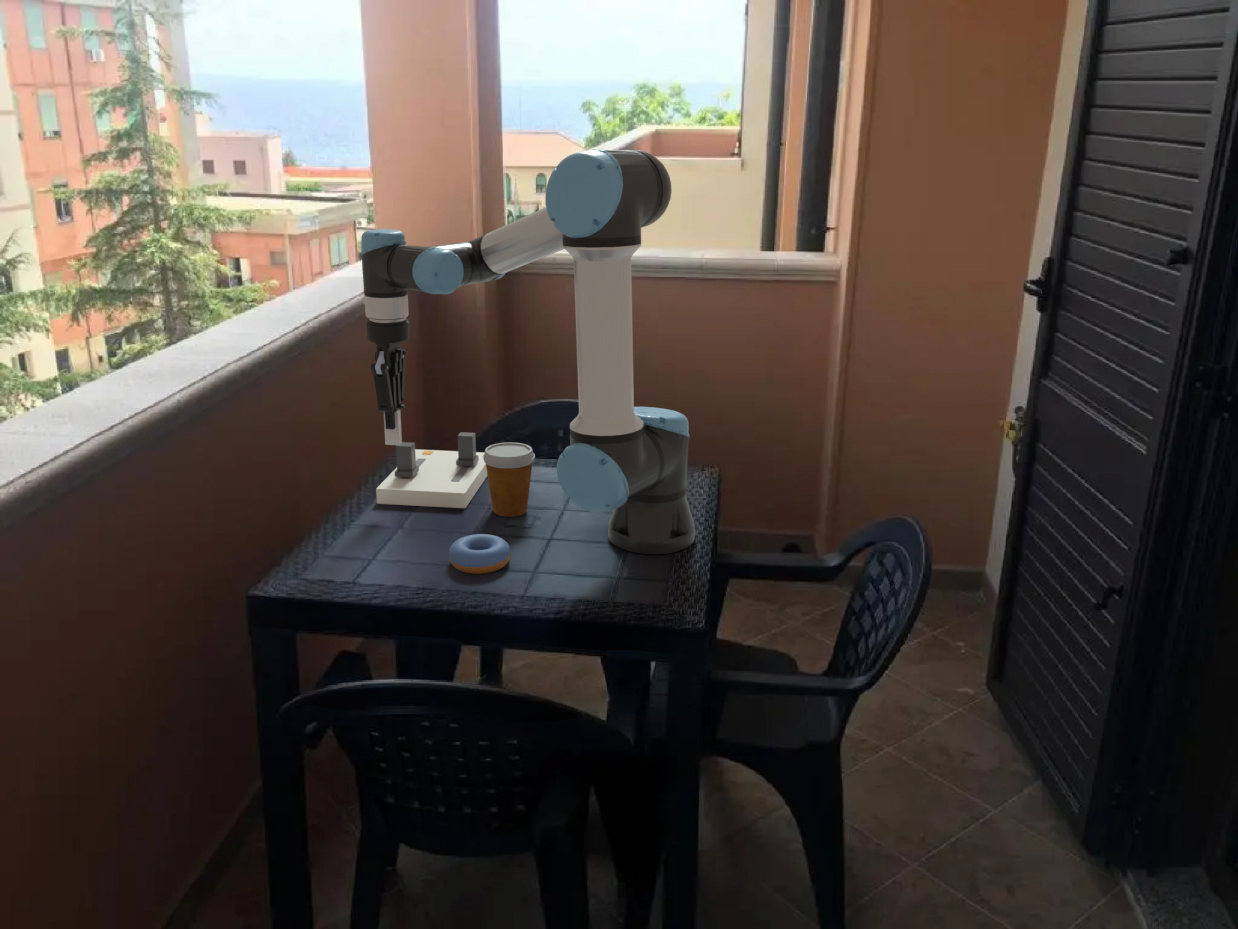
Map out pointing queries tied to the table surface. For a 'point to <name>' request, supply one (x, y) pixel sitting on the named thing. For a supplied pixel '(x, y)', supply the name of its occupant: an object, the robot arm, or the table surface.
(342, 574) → the table surface
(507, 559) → the doughnut
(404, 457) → the block
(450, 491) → the panel
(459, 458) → the block
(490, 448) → the disposable coffee cup
